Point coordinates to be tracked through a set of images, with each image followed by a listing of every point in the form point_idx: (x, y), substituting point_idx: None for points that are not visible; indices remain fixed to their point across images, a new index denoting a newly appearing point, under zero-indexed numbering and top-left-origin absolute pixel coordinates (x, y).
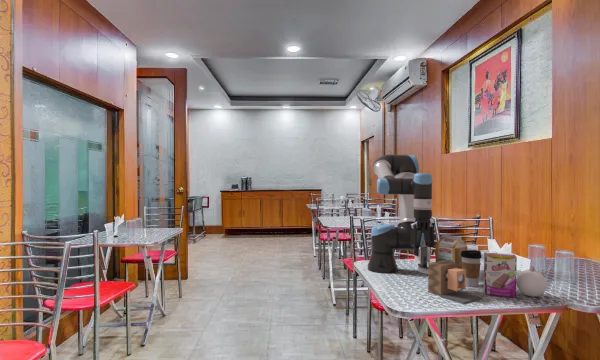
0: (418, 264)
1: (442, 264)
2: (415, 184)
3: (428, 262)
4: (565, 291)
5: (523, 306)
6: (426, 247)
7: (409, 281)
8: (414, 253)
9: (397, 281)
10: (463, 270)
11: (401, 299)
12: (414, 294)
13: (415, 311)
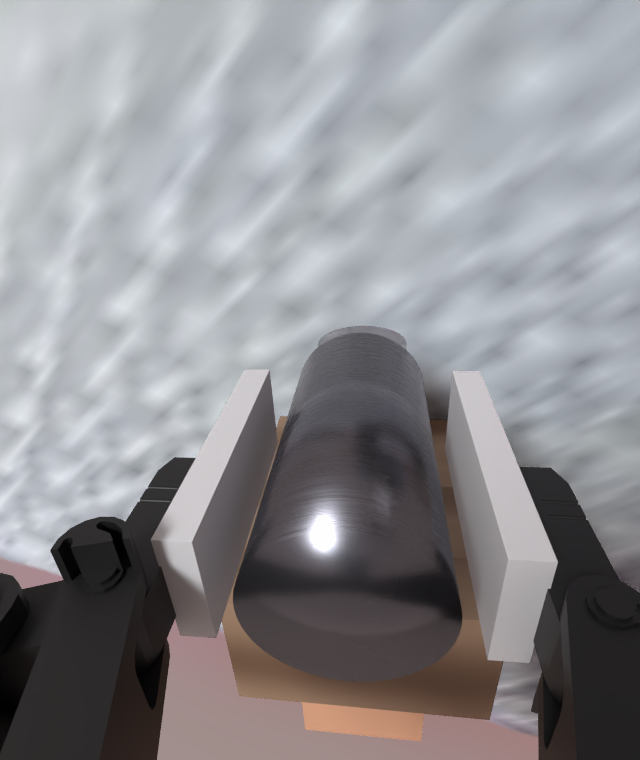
0: (298, 382)
1: (293, 687)
2: None
3: (446, 439)
4: None
5: (496, 713)
6: (375, 671)
7: (414, 87)
8: (150, 489)
9: (290, 12)
10: (392, 737)
11: (23, 425)
12: (159, 401)
13: (5, 551)
